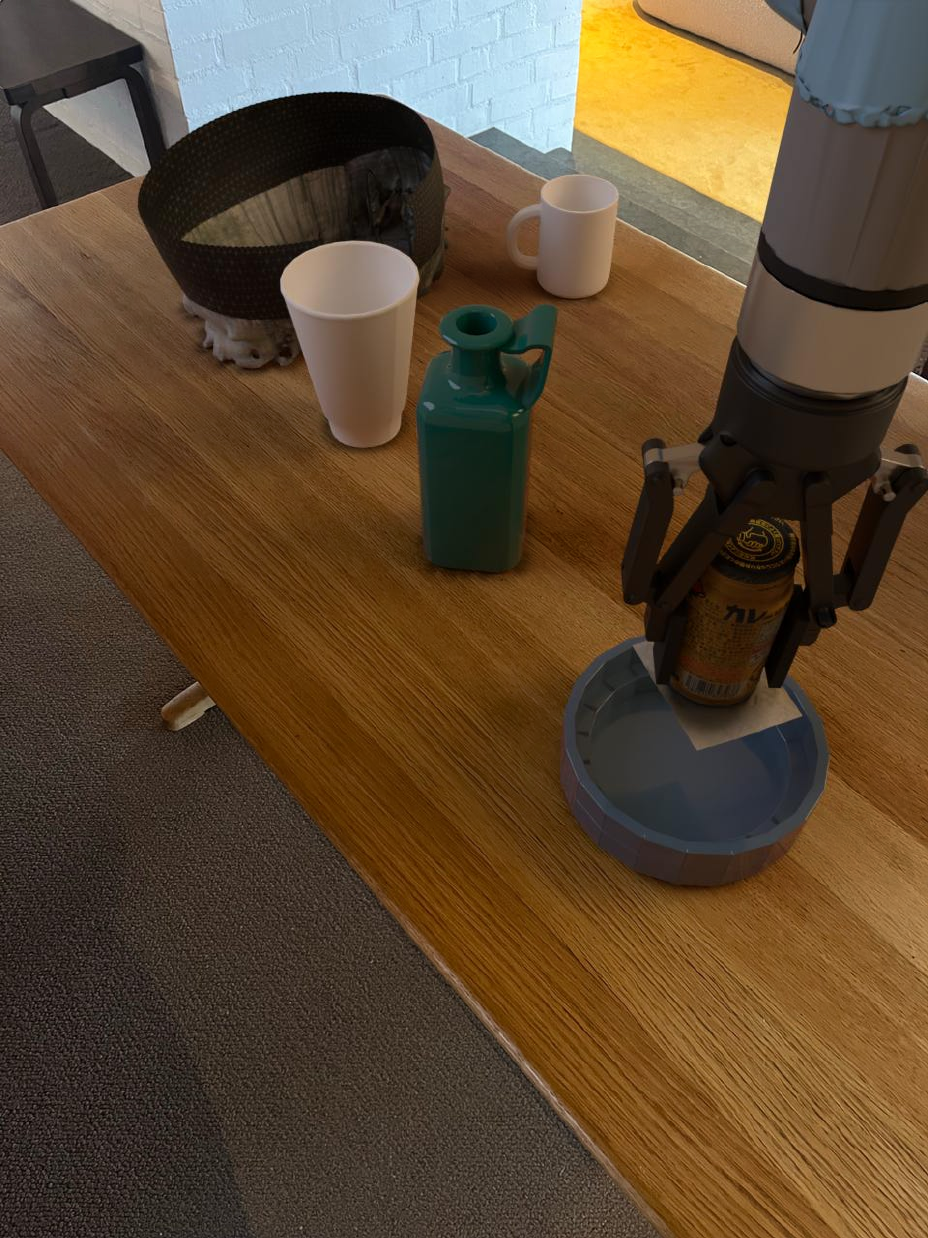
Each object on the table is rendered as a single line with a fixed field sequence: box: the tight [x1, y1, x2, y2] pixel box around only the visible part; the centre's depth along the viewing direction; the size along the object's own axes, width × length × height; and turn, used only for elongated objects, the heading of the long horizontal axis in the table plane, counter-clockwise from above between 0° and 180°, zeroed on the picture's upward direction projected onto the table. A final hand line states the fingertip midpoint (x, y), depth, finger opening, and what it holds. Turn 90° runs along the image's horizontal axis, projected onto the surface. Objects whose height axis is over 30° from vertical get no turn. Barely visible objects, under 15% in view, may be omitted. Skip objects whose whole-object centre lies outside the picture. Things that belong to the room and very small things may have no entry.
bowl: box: [558, 634, 831, 887], centre depth 67 cm, size 18×18×6 cm
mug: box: [504, 173, 620, 300], centre depth 106 cm, size 12×8×10 cm
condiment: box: [633, 517, 802, 750], centre depth 55 cm, size 7×8×12 cm
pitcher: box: [414, 303, 559, 574], centre depth 75 cm, size 10×8×22 cm
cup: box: [280, 241, 420, 449], centre depth 88 cm, size 12×12×16 cm
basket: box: [137, 90, 452, 369], centre depth 102 cm, size 28×35×16 cm
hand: (715, 668), depth 59 cm, fingers closed on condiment, 6 cm apart
